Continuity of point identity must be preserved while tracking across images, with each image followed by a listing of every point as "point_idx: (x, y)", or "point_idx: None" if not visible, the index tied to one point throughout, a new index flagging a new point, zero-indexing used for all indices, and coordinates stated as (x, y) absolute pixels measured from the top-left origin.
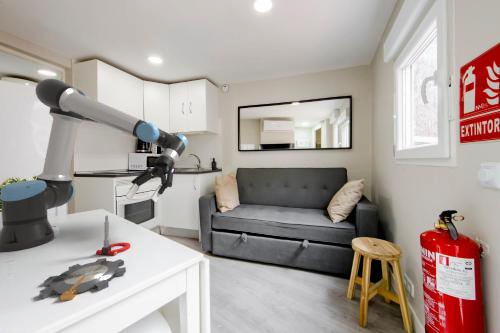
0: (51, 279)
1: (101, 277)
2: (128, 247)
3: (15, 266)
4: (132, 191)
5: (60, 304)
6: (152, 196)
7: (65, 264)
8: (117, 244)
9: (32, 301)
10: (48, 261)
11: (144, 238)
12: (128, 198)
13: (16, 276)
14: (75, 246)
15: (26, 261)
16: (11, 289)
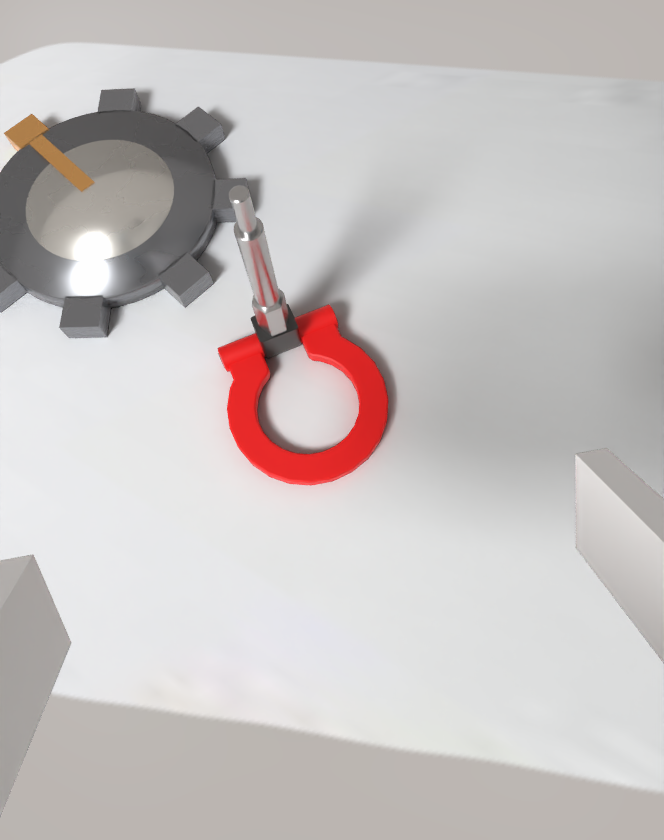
0: (187, 121)
1: (11, 216)
2: (237, 445)
3: (525, 96)
4: (648, 568)
5: None
6: (3, 581)
7: (345, 203)
8: (352, 429)
9: None
10: (460, 173)
11: (319, 618)
12: (576, 504)
13: (396, 87)
14: (590, 297)
15: (554, 126)
16: (285, 68)
